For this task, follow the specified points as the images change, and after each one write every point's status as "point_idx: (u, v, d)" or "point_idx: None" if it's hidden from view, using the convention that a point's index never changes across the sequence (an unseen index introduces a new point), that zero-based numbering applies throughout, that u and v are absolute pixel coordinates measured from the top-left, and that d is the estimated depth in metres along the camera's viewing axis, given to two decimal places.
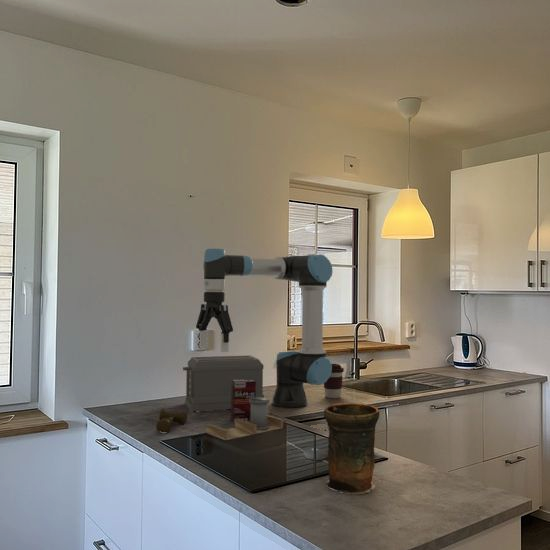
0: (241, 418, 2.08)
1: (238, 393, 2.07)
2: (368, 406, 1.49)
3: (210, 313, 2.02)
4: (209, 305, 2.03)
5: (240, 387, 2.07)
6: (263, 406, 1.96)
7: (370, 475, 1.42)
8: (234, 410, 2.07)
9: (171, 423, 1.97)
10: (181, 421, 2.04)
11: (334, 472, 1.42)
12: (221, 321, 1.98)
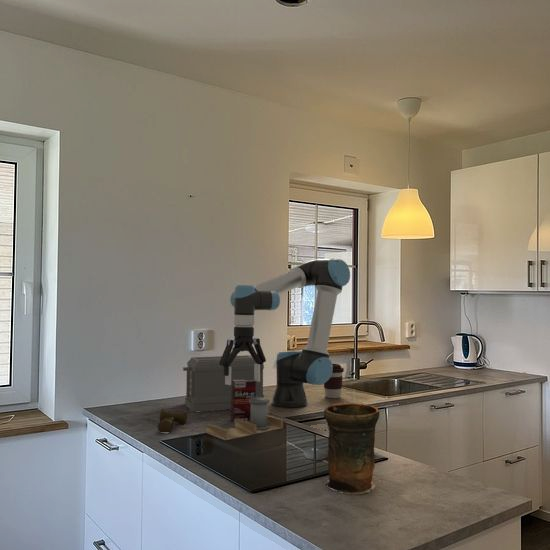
0: (241, 418, 2.08)
1: (238, 393, 2.07)
2: (368, 406, 1.49)
3: None
4: None
5: (240, 387, 2.07)
6: (263, 406, 1.96)
7: (370, 475, 1.42)
8: (234, 410, 2.07)
9: (172, 423, 1.97)
10: (182, 421, 2.04)
11: (334, 472, 1.42)
12: (230, 355, 2.07)
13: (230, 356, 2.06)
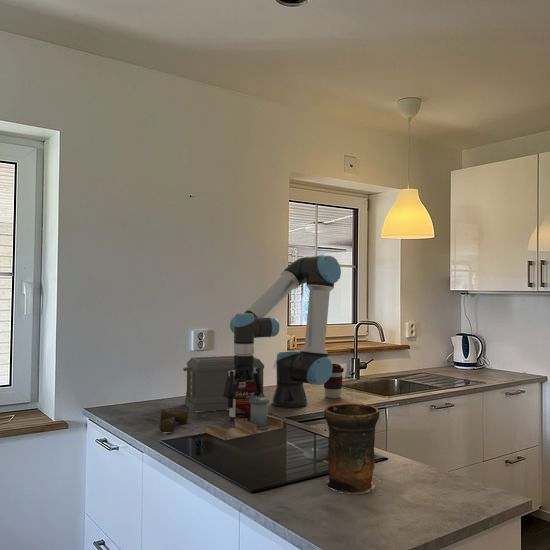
0: (241, 418, 2.07)
1: (238, 393, 2.07)
2: (368, 406, 1.49)
3: None
4: None
5: (240, 387, 2.07)
6: (263, 406, 1.96)
7: (370, 475, 1.42)
8: None
9: (174, 423, 1.97)
10: (182, 421, 2.04)
11: (334, 472, 1.42)
12: (232, 386, 2.08)
13: (233, 387, 2.07)
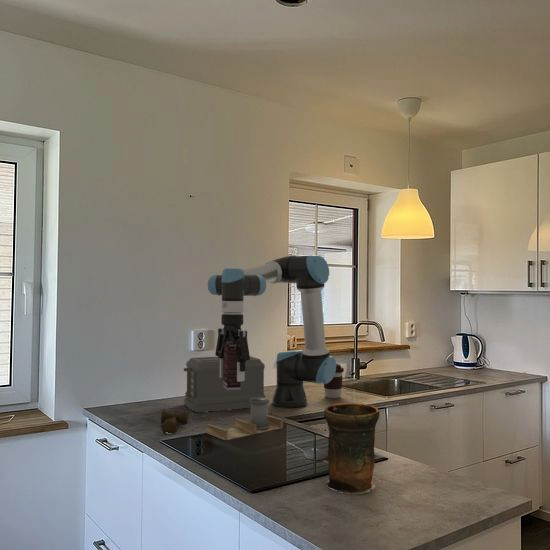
0: None
1: None
2: (368, 406, 1.49)
3: (228, 336, 1.92)
4: (227, 327, 1.92)
5: None
6: (263, 406, 1.96)
7: (370, 475, 1.42)
8: None
9: (176, 423, 1.97)
10: (183, 421, 2.04)
11: (334, 472, 1.42)
12: (238, 348, 1.88)
13: (240, 349, 1.88)
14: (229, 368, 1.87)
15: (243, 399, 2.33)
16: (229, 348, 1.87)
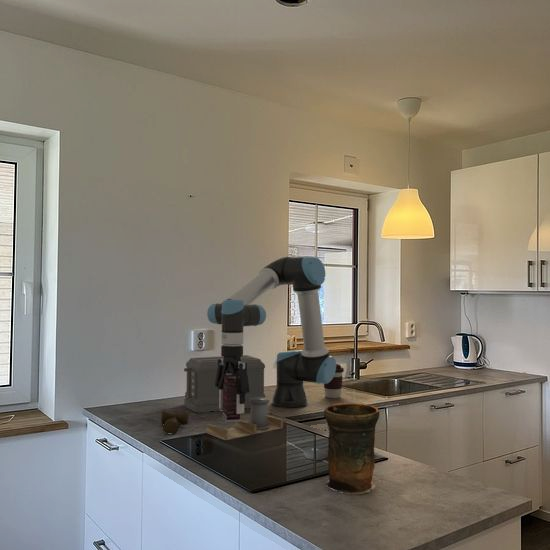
0: None
1: None
2: (368, 406, 1.49)
3: (228, 368, 1.91)
4: (226, 358, 1.92)
5: None
6: (263, 406, 1.96)
7: (370, 475, 1.42)
8: None
9: (177, 424, 1.97)
10: (184, 421, 2.04)
11: (334, 472, 1.42)
12: (238, 380, 1.87)
13: (240, 381, 1.88)
14: (229, 400, 1.87)
15: None
16: (229, 380, 1.87)
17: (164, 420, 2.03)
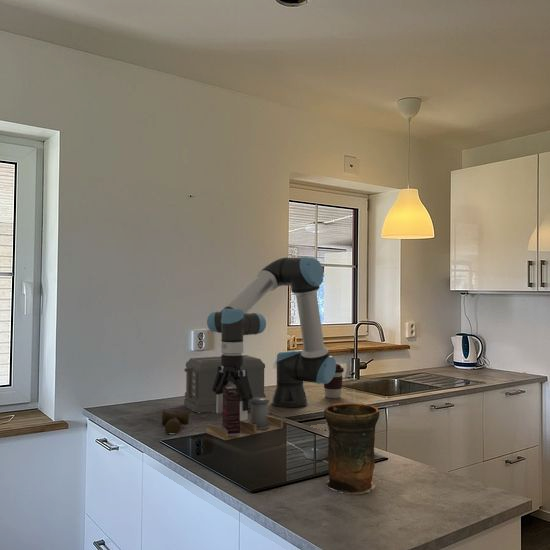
0: None
1: None
2: (368, 406, 1.49)
3: (228, 377, 1.91)
4: (227, 368, 1.92)
5: None
6: (263, 406, 1.96)
7: (370, 475, 1.42)
8: (239, 419, 1.88)
9: (178, 424, 1.97)
10: (185, 421, 2.04)
11: (334, 472, 1.42)
12: (240, 387, 1.87)
13: (242, 388, 1.87)
14: (228, 414, 1.87)
15: None
16: (228, 394, 1.87)
17: (165, 420, 2.03)
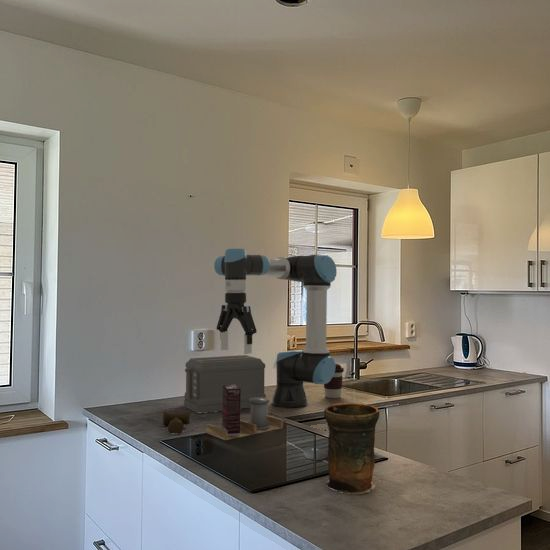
0: None
1: None
2: (368, 406, 1.49)
3: (232, 314, 1.99)
4: (230, 306, 1.99)
5: None
6: (263, 406, 1.96)
7: (370, 475, 1.42)
8: (239, 419, 1.88)
9: None
10: (186, 421, 2.04)
11: (334, 472, 1.42)
12: (244, 322, 1.94)
13: (246, 324, 1.95)
14: (228, 414, 1.87)
15: (245, 399, 2.34)
16: (228, 394, 1.87)
17: (166, 420, 2.03)
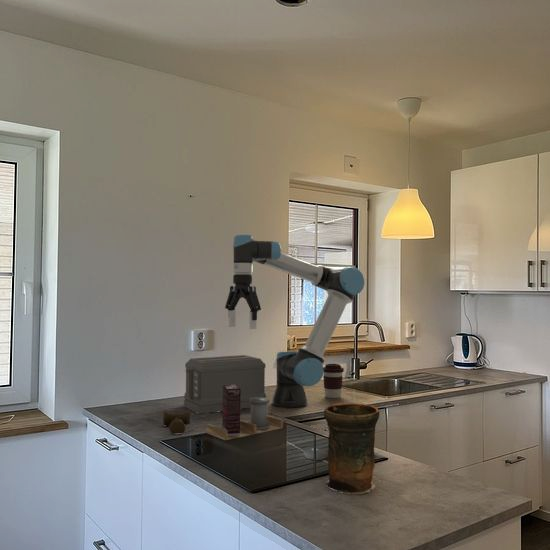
0: None
1: None
2: (368, 406, 1.49)
3: (239, 294, 2.21)
4: (238, 287, 2.22)
5: None
6: (263, 406, 1.96)
7: (370, 475, 1.42)
8: (239, 419, 1.88)
9: None
10: (186, 421, 2.04)
11: (334, 472, 1.42)
12: (250, 301, 2.17)
13: (251, 302, 2.17)
14: (228, 414, 1.87)
15: (246, 399, 2.34)
16: (228, 394, 1.87)
17: (166, 421, 2.02)
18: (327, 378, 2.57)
